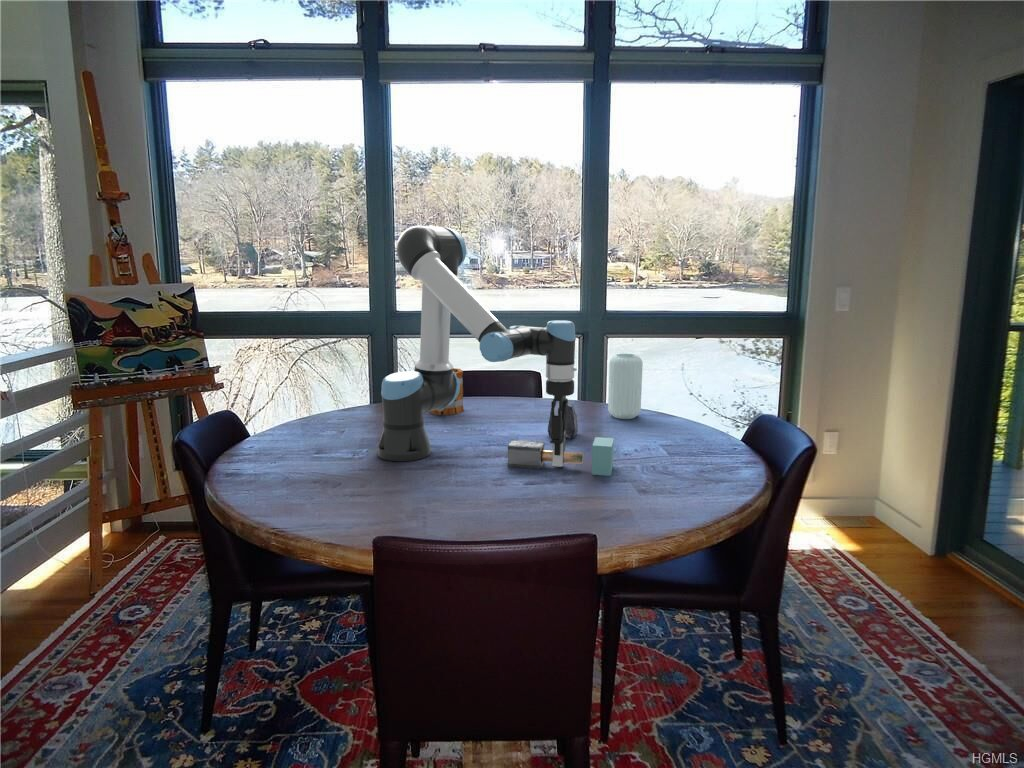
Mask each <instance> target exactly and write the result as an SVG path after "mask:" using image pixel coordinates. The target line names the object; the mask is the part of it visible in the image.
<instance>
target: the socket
mask: <svg viewBox="0 0 1024 768" xmlns="http://www.w3.org/2000/svg"><path fill="white" fill-rule="evenodd" d="M614 439H615V438H613V437H602V436H601V437H599V436H595V437H594V441H593V442H592V445H591V446H592V449H591V450H592V452H591V453H592V455H591V475H593V476H594V475H595V476H596V475H597V476H607V477H611V475H612V474H613V473H612V472H613V469H614V468H613V467H614V448H615V447H614V444H615V443H614V442H615V440H614Z"/></svg>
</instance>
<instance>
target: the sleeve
mask: <svg viewBox="0 0 1024 768" xmlns="http://www.w3.org/2000/svg"><path fill="white" fill-rule="evenodd" d="M541 450H545V441H537V440H536V441H535V440H520V439H512V440H511V441H510V443H509V444H508V445H507V468H516V469H517V468H519V469H529V470H530V469H531V470H532V469H533V470H541V469H542V467H543V465H544V463H545V461H541Z"/></svg>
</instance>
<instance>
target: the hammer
mask: <svg viewBox="0 0 1024 768" xmlns="http://www.w3.org/2000/svg"><path fill="white" fill-rule="evenodd" d="M565 435H566V429H563V437H562V441H563V442H562V443H563V465H564V464H565V463H567V464H578V465H579V464H580V465H582V464H584V452H581V451H580V452H579V451H578V452H577V451H566V438H565ZM541 461H544V462H548V463H549V462H551V464H552V463H553V450H549V449H544V450H541Z"/></svg>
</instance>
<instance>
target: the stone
mask: <svg viewBox="0 0 1024 768" xmlns="http://www.w3.org/2000/svg"><path fill="white" fill-rule="evenodd" d="M551 409H552V407H551V408H550V410H551ZM575 409H576V408H575V406H574V403H573V402H572V403H569V402H568V405H567V424H566V431H567V433H566V435H568V438H567V439H570V440H571V439H574V438H575V437H576V435H577V433H578V431H579V425H578V415H577V413H576V410H575ZM547 434H548V436H552V412H551V411H550V414H549V420H548V424H547Z"/></svg>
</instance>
